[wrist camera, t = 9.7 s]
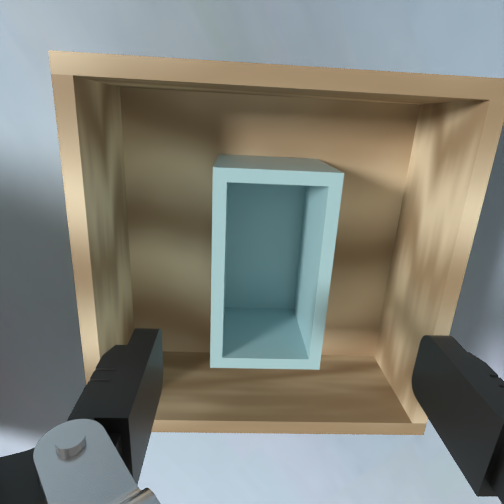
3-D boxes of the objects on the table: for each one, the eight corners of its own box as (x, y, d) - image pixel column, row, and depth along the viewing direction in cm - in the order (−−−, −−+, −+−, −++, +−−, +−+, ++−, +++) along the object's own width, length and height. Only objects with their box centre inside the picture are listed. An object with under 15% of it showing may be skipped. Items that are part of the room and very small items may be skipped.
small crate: (219, 154, 22) (212, 167, 16) (316, 158, 22) (344, 173, 16) (216, 310, 25) (210, 367, 19) (300, 313, 25) (319, 369, 20)
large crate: (108, 71, 21) (48, 50, 14) (430, 90, 22) (514, 79, 15) (127, 353, 27) (91, 431, 20) (379, 359, 28) (423, 434, 21)
